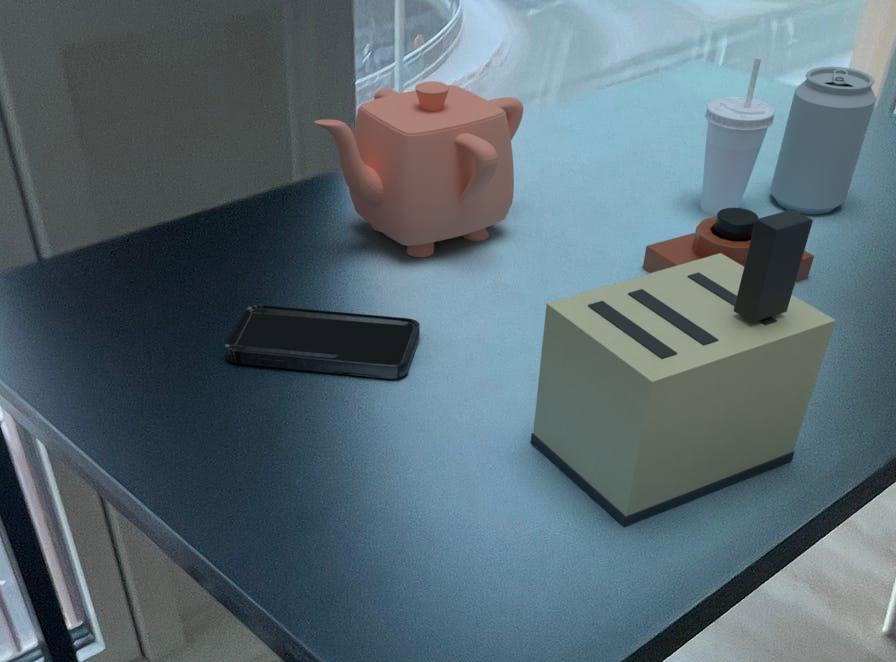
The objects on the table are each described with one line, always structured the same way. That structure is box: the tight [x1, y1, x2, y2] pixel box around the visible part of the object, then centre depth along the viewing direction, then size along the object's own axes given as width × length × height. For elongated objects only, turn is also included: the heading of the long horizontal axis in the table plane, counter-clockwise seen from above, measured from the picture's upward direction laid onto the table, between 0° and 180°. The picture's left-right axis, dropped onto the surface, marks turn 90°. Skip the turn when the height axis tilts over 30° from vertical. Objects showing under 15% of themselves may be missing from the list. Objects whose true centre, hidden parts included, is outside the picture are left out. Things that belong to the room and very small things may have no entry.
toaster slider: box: [734, 209, 814, 323], centre depth 63 cm, size 3×2×6 cm, turn 119°
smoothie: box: [700, 56, 776, 217], centre depth 97 cm, size 6×6×14 cm
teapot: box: [314, 80, 524, 258], centre depth 94 cm, size 17×16×13 cm
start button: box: [713, 207, 760, 242], centre depth 90 cm, size 4×4×2 cm
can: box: [770, 66, 877, 215], centre depth 99 cm, size 8×8×12 cm
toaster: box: [530, 253, 837, 527], centre depth 69 cm, size 15×11×11 cm
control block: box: [642, 216, 815, 283], centre depth 91 cm, size 12×9×4 cm
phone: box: [224, 304, 421, 380], centre depth 83 cm, size 8×1×15 cm
